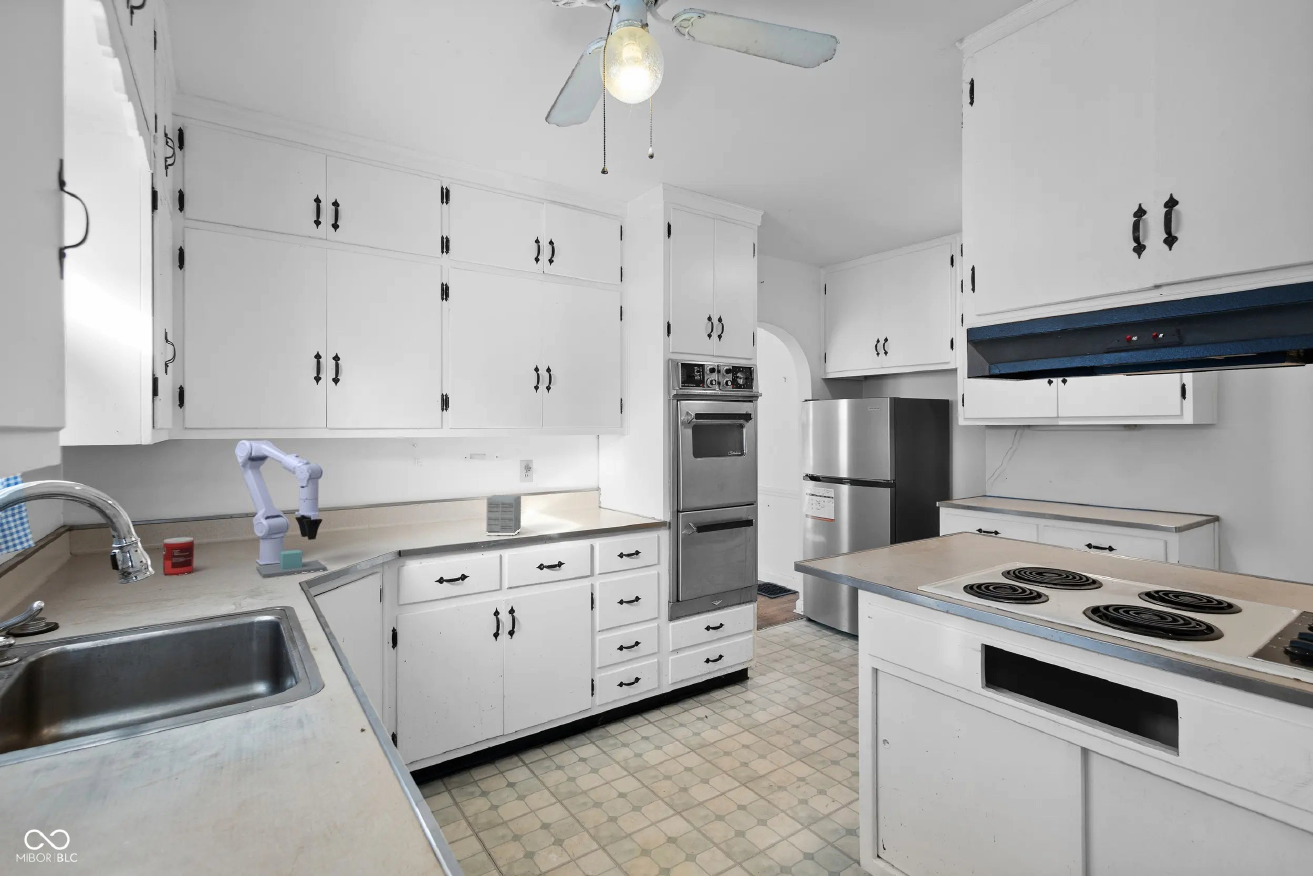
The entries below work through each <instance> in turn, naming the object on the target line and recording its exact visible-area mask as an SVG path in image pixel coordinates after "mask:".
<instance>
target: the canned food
mask: <svg viewBox="0 0 1313 876" xmlns="http://www.w3.org/2000/svg"><path fill="white" fill-rule="evenodd" d="M194 550H195V540H194V537H188V536H186V537H173V538H166V539H164V540H163V551H162V552H163V553H162V554H163V555H162V557H163V559H162V560H163V561H162V563H163V564H162V568H163V572H162V573H163V575H164V574H166V575H165V576H167V575H177V576H180V575H179V574H185V573H189V574H191V573H190V572H192V571H194V565H195V564H194V563H195V562H194V560H195V557H194V556H195V551H194ZM192 573H193V572H192ZM185 575H186V574H185Z"/></svg>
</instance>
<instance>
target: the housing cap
mask: <svg viewBox="0 0 1313 876" xmlns="http://www.w3.org/2000/svg"><path fill="white" fill-rule="evenodd" d="M302 562H303V551H302V550H300V549H294V550H284V551H281V552H280V563H279V564H280V568H282V569H292V568H301V567H302Z"/></svg>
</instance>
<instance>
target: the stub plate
mask: <svg viewBox="0 0 1313 876" xmlns="http://www.w3.org/2000/svg"><path fill="white" fill-rule="evenodd" d="M256 570H257V571H258V572H259V573H260V574H259V573H258V572H257V571H256V572H257V573H258V574H259V575H260V576H261V578H262V577H263V578H262V579H266V578H265V577H269V578H275V577H276V576H277V577H285V576H284V575H286V576H291V574H294V575H296V574H295V573H302V572H311V571H320V570H328V567H327V566H326V565H325V564H323V563H322V562H320V561H319V560H308V561H302V567H301V568H292V569H282V568H280V563H277V564H268V565H260V566H256ZM320 572H321V571H320ZM311 573H312V572H311Z"/></svg>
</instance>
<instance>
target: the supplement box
mask: <svg viewBox="0 0 1313 876" xmlns="http://www.w3.org/2000/svg"><path fill="white" fill-rule="evenodd" d="M521 513H522V496H521V495H517V494H516V495H515V494H511V495H510V494H509V495H508V494H505V495H504V494H495V495H491V496H488V497H486V528H485V529H486V530H485V532H488V533H515V532H516V531H517V530H519V529H520V528H521V527H522V526H521V522H522V521H521V520H522V518H521V517H522V514H521ZM521 529H522V528H521Z"/></svg>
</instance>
